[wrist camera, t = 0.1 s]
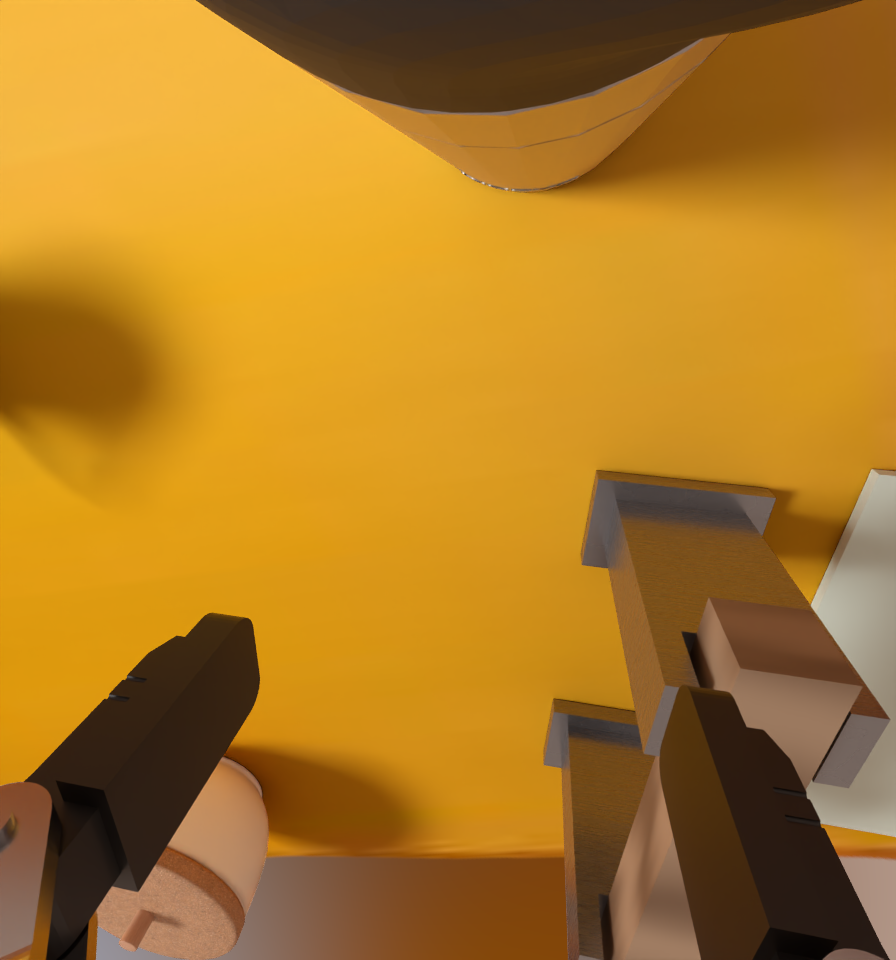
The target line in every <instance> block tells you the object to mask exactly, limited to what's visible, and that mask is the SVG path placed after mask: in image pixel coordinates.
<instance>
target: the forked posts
mask: <svg viewBox="0 0 896 960" xmlns="http://www.w3.org/2000/svg"><path fill="white" fill-rule="evenodd" d="M775 500H776V497H775V496H774V495H773V494H772V493H771V491H770V490H769V489H768V488H760V487H750V486H741V485H731V484H722V483H712V482H703V481H693V480H683V479H674V478H664V477H655V476H645V475H636V474H626V473H617V472H607V471H598V470H596V475H595V481H594V486H593V491H592V497H591V502H590V507H589V513H588V518H587V523H586V529H585V534H584V539H583V544H582V550H581V561H582V565H586V566H594V567H602V568H608V570H609V575H610V581H611V586H612V591H613V596H614V602H615V607H616V612H617V617H618V623H619V628H620V633H621V638H622V644H623V649H624V654H625V659H626V665H627V670H628V675H629V680H630V686H631V691H632V696H633V701H634V707H635V712H633V711H627V710H621V709H614V708H608V707H602V706H595V705H589V704H583V703H577V702H570V701H564V700H558V699H553V704H552V709H551V715H550V720H549V725H548V731H547V736H546V741H545V747H544V765H547V766H553V767H559V768H562V795H563V823H564V851H565V880H566V908H567V936H568V960H604V959H603V947H602V935H601V923H600V921H601V918H602V915H603V912H604V909H605V906H606V903H607V900H608V897H609V894H610V891H611V888H612V885H613V882H614V879H615V876H616V873H617V870H618V867H619V864H620V861H621V858H622V855H623V852H624V849H625V846H626V843H627V840H628V837H629V834H630V831H631V828H632V825H633V822H634V819H635V816H636V813H637V810H638V807H639V804H640V801H641V798H642V795H643V792H644V789H645V786H646V783H647V780H648V777H649V774H650V771H651V768H652V765H653V762H654V759H655V756H660V748H661V743H662V740H663V737H664V734H665V730H666V727H667V724H668V721H669V717H670V714H671V711H672V708H673V704H674V701H675V698H676V695H677V692H678V690H679V688H680V687H681V686H682V685H687V686H694V687H700V686H699V683H698V680H697V677H696V674H695V671H694V668H693V665H692V662H691V659H690V656H689V655H690V652H691V649H692V646H693V643H694V640H695V637H696V634H697V631H698V628H699V625H700V622H701V619H702V616H703V613H704V610H705V607H706V604H707V601H708V598H709V597H713V598H720V599H728V600H736V601H743V602H751V603H758V604H766V605H774V606H781V607H789V608H797V609H804V610H811V612H812V613H813V615H814V616H815V618H816V619H817V620H818V622H819V623H820V625H821V626H822V628H823V629H824V631H825V632H826V633H827V635H828V636H829V638H830V639H831V641H832V642H833V644H834V645H835V646H836V648H837V649H838V651H839V652H840V654H841V655H842V657H843V658H844V660H845V661H846V662H847V664H848V665H849V667H850V668H851V670H852V671H853V673H854V674H855V675H856V677H857V678H858V680H859V681H860V683H861V684H862V686H863V687H862V689H861V691H860V693H859V695H858V696H857V698H856V700H855V702H854V704H853V706H852V707H851V709H850V711H849V713H848V715H847V716H846V718H845V720H844V722H843V724H842V725H841V727H840V729H839V731H838V733H837V734H836V736H835V738H834V740H833V742H832V744H831V745H830V747H829V749H828V751H827V753H826V754H825V756H824V758H823V760H822V762H821V763H820V765H819V767H818V769H817V771H816V773H815V774H814V776H813V778H812V781H813V782H814V783H820V784H826V785H832V786H838V787H844V788H849V787H850V786H851V784H852V782H853V781H854V779H855V777H856V776H857V774H858V772H859V771H860V769H861V768H862V766H863V764H864V763H865V761H866V759H867V758H868V756H869V754H870V753H871V751H872V750H873V748H874V746H875V745H876V743H877V741H878V740H879V738H880V736H881V735H882V733H883V731H884V730H885V728H886V727H887V725H888V723H889V722H890V718H889V717H888V715H887V714H886V712H885V711H884V710H883V708H882V707H881V705H880V704H879V702H878V701H877V700H876V698H875V697H874V695H873V694H872V692H871V691H870V690H869V688H868V687H867V685H866V684H865V682H864V681H863V680H862V678H861V677H860V675H859V674H858V673H857V671H856V670H855V668H854V667H853V665H852V664H851V663H850V661H849V660H848V658H847V657H846V655H845V654H844V653H843V651H842V650H841V648H840V647H839V645H838V644H837V643H836V641H835V640H834V638H833V637H832V635H831V634H830V633H829V631H828V630H827V628H826V627H825V625H824V624H823V623H822V621H821V620H820V618H819V617H818V615H817V614H816V613H815V611H814V610H813V608H812V607H811V605H810V604H809V603H808V601H807V600H806V598H805V597H804V595H803V594H802V593H801V591H800V590H799V588H798V587H797V585H796V584H795V583H794V581H793V580H792V578H791V577H790V575H789V574H788V573H787V571H786V570H785V568H784V567H783V565H782V564H781V563H780V561H779V560H778V558H777V557H776V555H775V554H774V553H773V551H772V550H771V548H770V547H769V545H768V544H767V543H766V541H765V540H764V538H763V537H762V535H763V533H764V530H765V527H766V524H767V522H768V519H769V516H770V514H771V511H772V508H773V505H774V503H775Z"/></svg>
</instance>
